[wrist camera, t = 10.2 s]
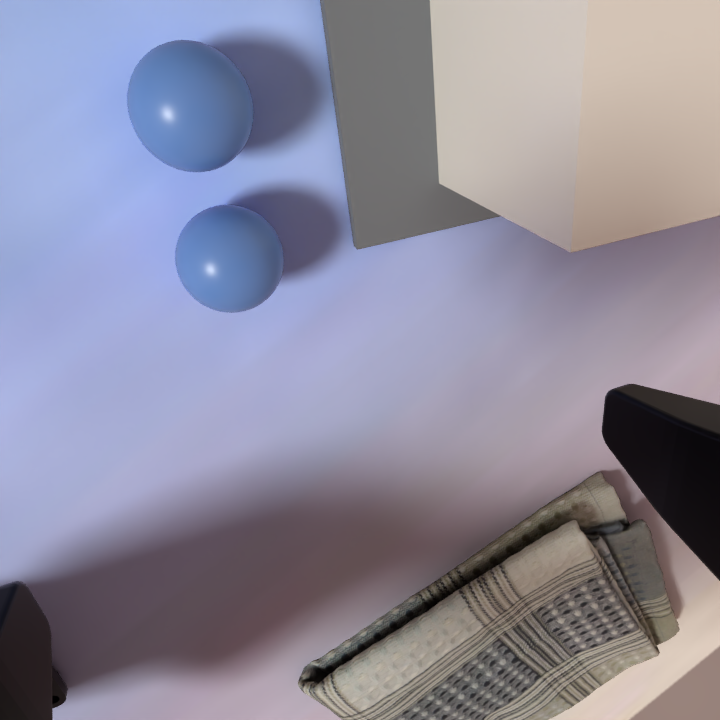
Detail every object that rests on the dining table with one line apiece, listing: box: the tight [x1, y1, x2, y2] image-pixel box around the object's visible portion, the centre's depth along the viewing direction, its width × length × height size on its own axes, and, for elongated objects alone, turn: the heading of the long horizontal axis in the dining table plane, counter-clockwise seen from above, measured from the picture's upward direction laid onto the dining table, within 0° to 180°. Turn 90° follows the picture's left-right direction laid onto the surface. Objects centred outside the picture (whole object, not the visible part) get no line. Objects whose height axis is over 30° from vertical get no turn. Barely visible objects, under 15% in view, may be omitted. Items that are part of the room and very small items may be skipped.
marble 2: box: [175, 205, 284, 313], centre depth 17 cm, size 3×3×3 cm
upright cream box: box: [430, 0, 720, 253], centre depth 14 cm, size 9×6×7 cm, turn 7°
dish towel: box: [298, 472, 680, 720], centre depth 33 cm, size 19×18×3 cm
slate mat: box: [320, 0, 500, 250], centre depth 17 cm, size 12×12×1 cm
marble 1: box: [127, 40, 254, 172], centre depth 15 cm, size 3×3×3 cm
